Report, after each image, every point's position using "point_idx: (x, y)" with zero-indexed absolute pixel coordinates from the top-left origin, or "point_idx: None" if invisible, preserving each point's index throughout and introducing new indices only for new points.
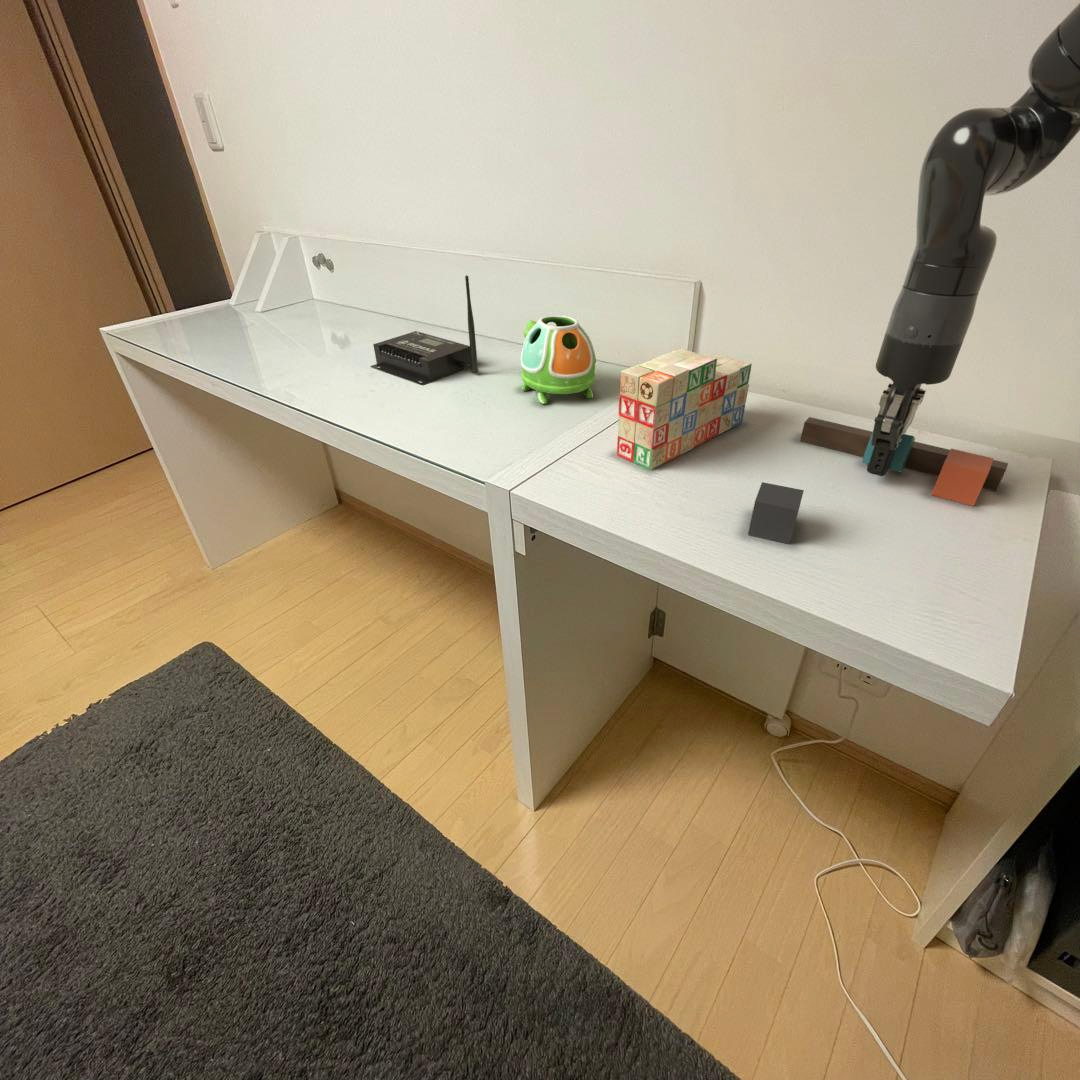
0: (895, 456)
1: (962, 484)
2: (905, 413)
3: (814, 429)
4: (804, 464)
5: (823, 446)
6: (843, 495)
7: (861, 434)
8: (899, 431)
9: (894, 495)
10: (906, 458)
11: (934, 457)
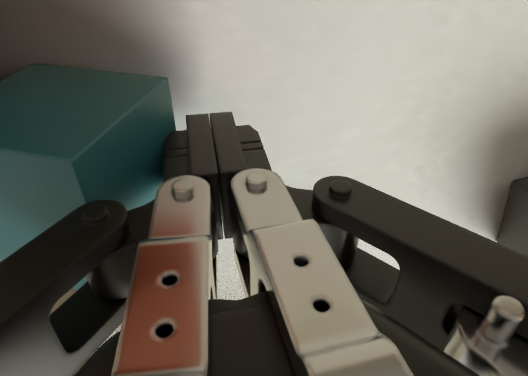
0: (148, 137)
1: None
2: (434, 359)
3: None
4: (217, 275)
5: (76, 290)
6: (333, 153)
7: None
8: (430, 255)
9: (247, 34)
10: (60, 93)
11: None
